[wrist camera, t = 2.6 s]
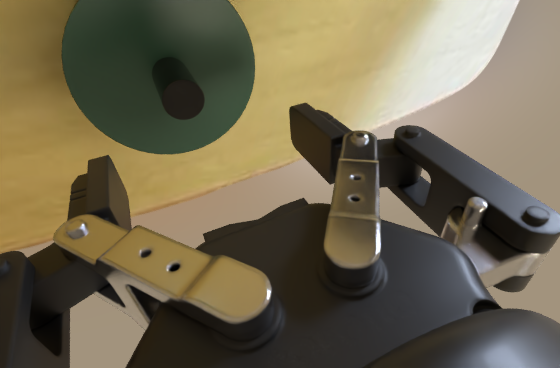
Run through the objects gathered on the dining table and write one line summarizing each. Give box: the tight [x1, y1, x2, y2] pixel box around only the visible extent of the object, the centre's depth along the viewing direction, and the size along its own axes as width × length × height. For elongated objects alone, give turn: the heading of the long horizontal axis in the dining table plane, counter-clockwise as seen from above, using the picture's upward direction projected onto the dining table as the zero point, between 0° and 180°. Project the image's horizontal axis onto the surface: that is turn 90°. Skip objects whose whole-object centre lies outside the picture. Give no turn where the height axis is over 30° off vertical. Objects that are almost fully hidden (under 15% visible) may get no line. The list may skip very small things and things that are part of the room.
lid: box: [62, 0, 255, 154], centre depth 21 cm, size 12×12×6 cm
